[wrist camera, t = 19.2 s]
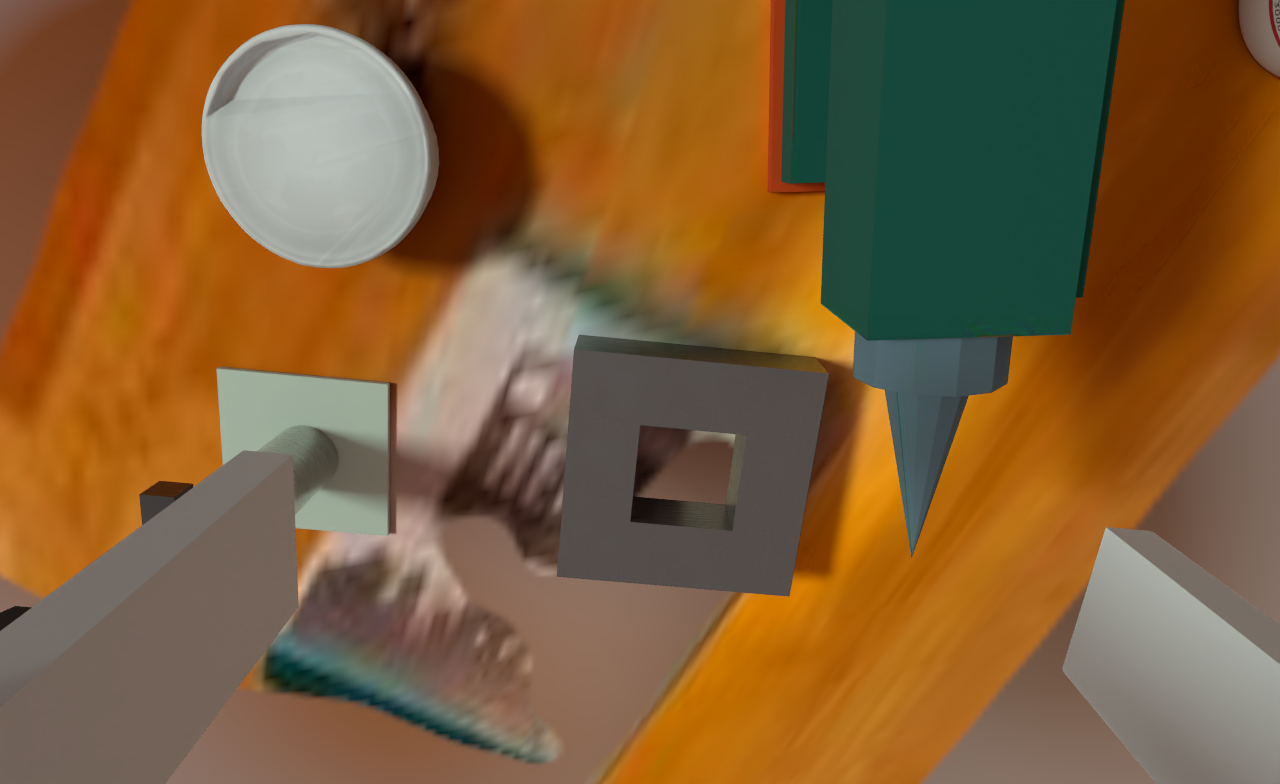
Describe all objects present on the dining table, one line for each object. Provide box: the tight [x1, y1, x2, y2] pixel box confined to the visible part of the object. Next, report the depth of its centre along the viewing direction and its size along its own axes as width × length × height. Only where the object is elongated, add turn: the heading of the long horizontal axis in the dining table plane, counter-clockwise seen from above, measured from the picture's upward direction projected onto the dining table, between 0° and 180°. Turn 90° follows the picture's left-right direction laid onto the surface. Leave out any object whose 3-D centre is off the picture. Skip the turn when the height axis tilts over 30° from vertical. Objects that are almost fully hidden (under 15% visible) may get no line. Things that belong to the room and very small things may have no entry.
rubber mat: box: [217, 367, 390, 536], centre depth 47 cm, size 10×10×1 cm
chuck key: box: [139, 425, 338, 525], centre depth 39 cm, size 4×8×15 cm, turn 174°
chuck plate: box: [557, 335, 829, 596], centre depth 45 cm, size 14×14×4 cm
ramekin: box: [202, 24, 439, 268], centre depth 39 cm, size 11×11×5 cm
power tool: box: [768, 0, 1125, 557], centre depth 32 cm, size 32×7×20 cm, turn 2°
